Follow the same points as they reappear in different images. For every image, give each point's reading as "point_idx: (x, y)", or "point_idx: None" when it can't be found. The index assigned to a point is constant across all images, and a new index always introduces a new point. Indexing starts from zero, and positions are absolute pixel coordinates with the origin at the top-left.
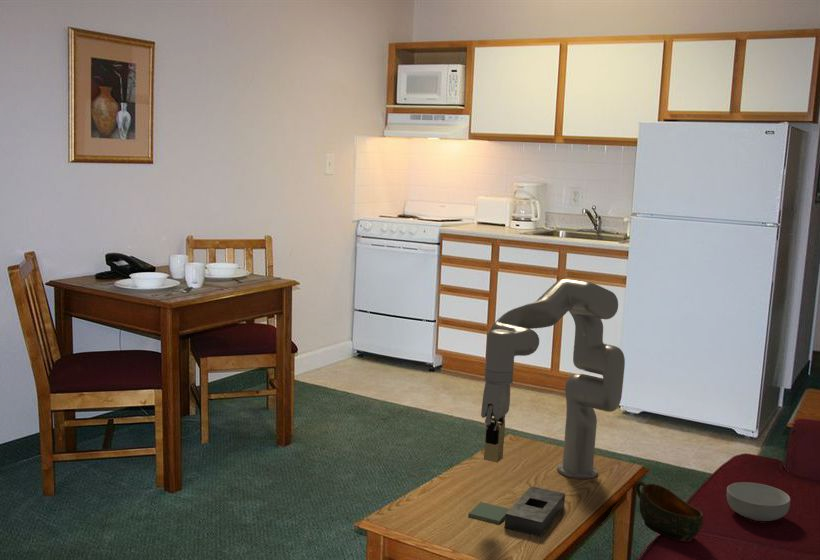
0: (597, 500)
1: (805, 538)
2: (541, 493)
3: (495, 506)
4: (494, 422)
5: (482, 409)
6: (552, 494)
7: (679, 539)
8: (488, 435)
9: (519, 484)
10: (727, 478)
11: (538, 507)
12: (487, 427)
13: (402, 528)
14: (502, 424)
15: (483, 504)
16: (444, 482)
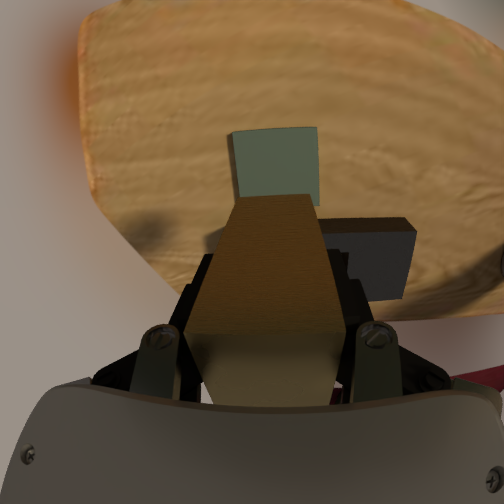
0: (434, 310)
1: None
2: (385, 263)
3: (312, 169)
4: (296, 366)
5: (16, 454)
6: (388, 282)
7: (337, 398)
8: (179, 306)
9: (462, 173)
10: (499, 370)
11: (343, 260)
12: (133, 352)
13: (97, 70)
14: (283, 406)
15: (305, 140)
16: (382, 10)
